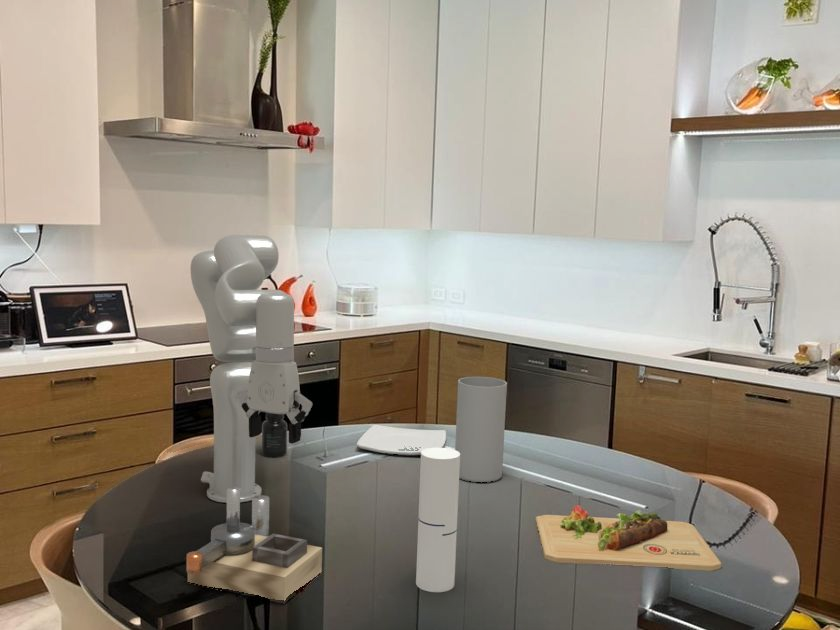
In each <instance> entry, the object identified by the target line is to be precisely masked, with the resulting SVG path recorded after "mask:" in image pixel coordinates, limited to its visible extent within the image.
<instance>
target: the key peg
mask: <svg viewBox="0 0 840 630" xmlns="http://www.w3.org/2000/svg"><path fill="white" fill-rule="evenodd" d="M251 525H252V526H253V527H254V528H255V534H256V535H261V536H266V537H269V536H270V496H268V495H263V494H261V495H258V496H254V497H253V498H252V500H251Z"/></svg>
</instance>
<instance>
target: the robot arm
mask: <svg viewBox="0 0 840 630" xmlns="http://www.w3.org/2000/svg"><path fill="white" fill-rule="evenodd" d="M279 255H280V254H279V249H278V246H277V243H276V242H275V240H274V239H272V238H271V237H269V236H268V235H255V234H253V235H252V234H251V235H250V234H249V235H248V234H246V235H245V234H242V235H241V234H234V235H232V234H231V235H227V236H223V237H221V238H220V239H219V240H218V241H217V242H216V244H215V245H214V248H213V250H205V251H201V252H199V253H196V255H194V256H193V257H192V259H191V263H190V279H191V284H192V289H193V290H194V293H195V295H196V298H197V301H199V303H200V305H201V307H202V309H203V313H204V316H205V322H206V323H205V324H206V330H207V335H208V340H209V346H210V350H211V353H212V355H213V357H214V358H215V360H217V361H220V362H225V363H221V364H219V365H217V366H216V367H214V369H212V370H211V372H210V379H209V386H210V390H211V391H210V392H211V398H212V406H213V472H211V471H203V472H202V475H201V478H200V482H201V483H204V484H206V483H207V484H209V487H208V488H207V490H206V496H207V498H208V499H210V500H212V501H215V502H217V503H226V504H227V488H229V487H239V488H240V503H245V502H250V501H252V498H253V497H254V496H258V495H262V487H261V486H260V485H258V484H257V483H256V437H257V436H261V435H262V417H261V414H260V413H261V412H262V413H266V412H267V413H274V414H284V415H286V416H287V418H288V420H289V421H290V423H289V424H288V443H289V444H292V445H293V444H296V443H298V442H300V441H301V437H302V422H304V421H305V419H307V418H306V417H308V416H309V414H310V413H309V412H310V411H311V410H312V409H311V408H312V407H313V402H312V401H311V400H310V399H308V397H305V395H303V394H302V393H301V390H300V389H301V388H300V377H299V371H298V365H297V362H296V361H294V360H295V346H294V345H295V299H294V297H293V296H292V295H290V294H288V293H286V292H285V291H284V290H280V289H259V288H260V287H261V286H262V284H263V283H264V281H265V280H266V279H267V278H269V276H270V275H271V274H272V273H273V272H274V271H275V270H276V269H277V266H278V263H279V258H280V257H279ZM300 405H301V409H299V408H300Z"/></svg>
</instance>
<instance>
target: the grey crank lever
mask: <svg viewBox="0 0 840 630" xmlns="http://www.w3.org/2000/svg"><path fill="white" fill-rule="evenodd" d="M240 516H241V502H240V488H239V487H229V488H227V503H226V522H225V523H221V524H218V525H215V526H213V527H212V529H211V530H210V542H209V543H207V544H205V545H204V546H202V547H200V548H199V549H197V550H195V551H194V550H193V551H189V552H188V553H186V573H187V574H188V573H189V574H198V573H200V572H202V568H203V567H205V566H206V565H208V564H209V563H211V562H212V561H214V560H215V559H217V558H219V557H220V556H222V555H223V554H228V555H232V554H241V553H245V552H248V551H250V550H252V548H253V547H254V546H255V528H254V527H253V526H252V524H249V523H246V522H241V520H240V519H241V517H240Z"/></svg>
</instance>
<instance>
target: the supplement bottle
mask: <svg viewBox="0 0 840 630" xmlns="http://www.w3.org/2000/svg"><path fill="white" fill-rule="evenodd" d="M284 418H285V414H274V413H267V412H265V419H266V420H264V421H263V422H262V423H261V454H262V456H263V457H267V458H272V459H273V458H281V457H284V456H286V455H287V454H288V423H287V421H285V420H284Z"/></svg>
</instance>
